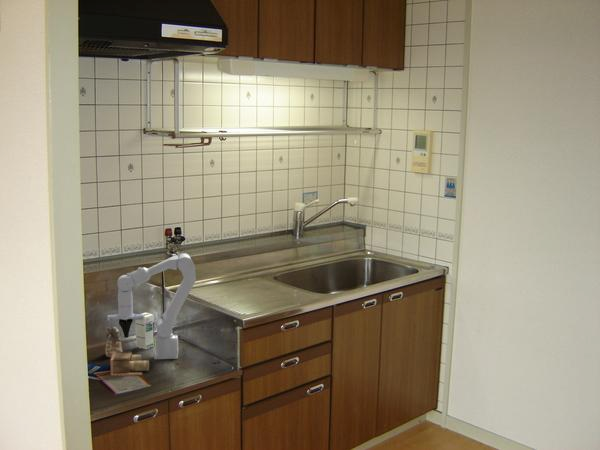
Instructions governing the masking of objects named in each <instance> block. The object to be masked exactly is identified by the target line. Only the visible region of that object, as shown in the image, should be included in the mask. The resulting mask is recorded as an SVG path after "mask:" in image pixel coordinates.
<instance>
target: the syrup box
mask: <svg viewBox="0 0 600 450" xmlns="http://www.w3.org/2000/svg"><path fill="white" fill-rule="evenodd" d="M141 314H144V320H134V321H135V340H136V341H135V342H136V348H138V347H139V348H138V349H141V348H143V349H142V350H148V349H150V347H151V348H153V347H155V334H156V332H155V315H154V314H153V313H151V312H143V313H141Z"/></svg>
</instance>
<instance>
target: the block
mask: <svg viewBox="0 0 600 450" xmlns="http://www.w3.org/2000/svg"><path fill="white" fill-rule="evenodd" d="M132 355H133V352H132V351H123V352H116V354H115V357H114V359H113V370H114V373H131V371H130V361H132Z"/></svg>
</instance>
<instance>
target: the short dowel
mask: <svg viewBox="0 0 600 450" xmlns="http://www.w3.org/2000/svg"><path fill="white" fill-rule="evenodd" d="M132 361H142V354H132Z"/></svg>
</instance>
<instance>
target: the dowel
mask: <svg viewBox="0 0 600 450" xmlns="http://www.w3.org/2000/svg"><path fill="white" fill-rule="evenodd" d="M149 371H150V360H141V361H130V372H149Z"/></svg>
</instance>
